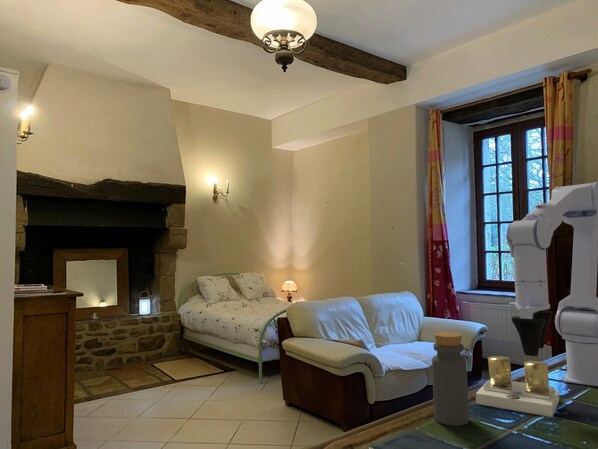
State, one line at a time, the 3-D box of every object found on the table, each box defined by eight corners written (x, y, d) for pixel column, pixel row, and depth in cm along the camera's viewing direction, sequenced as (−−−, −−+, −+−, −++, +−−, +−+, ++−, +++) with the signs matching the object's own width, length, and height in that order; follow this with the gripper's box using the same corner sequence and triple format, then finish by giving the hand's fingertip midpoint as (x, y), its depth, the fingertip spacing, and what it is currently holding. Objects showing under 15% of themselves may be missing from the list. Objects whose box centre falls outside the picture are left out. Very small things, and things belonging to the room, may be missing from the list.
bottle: (468, 415, 81) (464, 331, 82) (469, 427, 76) (465, 338, 77) (434, 412, 83) (431, 330, 84) (433, 424, 78) (430, 336, 79)
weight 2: (549, 388, 87) (547, 362, 88) (548, 394, 84) (547, 367, 84) (526, 385, 89) (524, 360, 90) (525, 391, 86) (523, 364, 86)
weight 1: (490, 380, 93) (488, 356, 94) (511, 381, 92) (509, 356, 92) (490, 385, 90) (487, 359, 90) (512, 386, 88) (509, 360, 89)
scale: (488, 389, 95) (488, 379, 95) (559, 400, 88) (558, 389, 88) (476, 403, 87) (475, 392, 87) (552, 417, 80) (551, 404, 80)
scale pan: (491, 381, 95) (491, 378, 95) (554, 390, 88) (554, 386, 88) (483, 389, 89) (483, 386, 89) (549, 400, 83) (549, 396, 83)
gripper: (515, 278, 96) (519, 342, 96) (500, 283, 84) (504, 356, 84) (553, 278, 92) (557, 345, 91) (542, 284, 80) (547, 361, 80)
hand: (534, 351), depth 87 cm, fingers open, 7 cm apart
